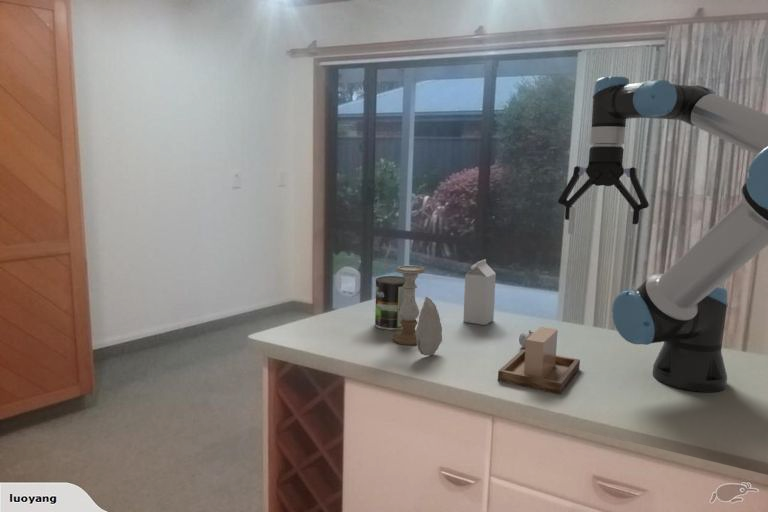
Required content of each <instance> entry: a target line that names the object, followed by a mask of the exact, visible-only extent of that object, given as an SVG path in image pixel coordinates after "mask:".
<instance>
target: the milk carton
mask: <svg viewBox="0 0 768 512" xmlns="http://www.w3.org/2000/svg"><path fill="white" fill-rule="evenodd" d="M469 268H470V270H469V271H468V272H467V273H465V275H464V276H465V277H464V296H463V297H464V303H463V322H464V323H470V324H474V325H475V324H476V325H481V326H486V325H488V324H490V323H491V322H493V321H494V315H495V295H496V293H495V292H496V277H497V275H496V271H494V270H493V269H492V267H490V266H489V265H488V264H487V259H485V258H484V259H482V260H480V261H476V263H474V264H472V265H471V266H470V267H469Z"/></svg>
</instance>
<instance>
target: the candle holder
mask: <svg viewBox="0 0 768 512" xmlns="http://www.w3.org/2000/svg"><path fill="white" fill-rule="evenodd" d="M395 271H396V272H397V273H398V274H399V273H400V274H402V276H401V277H403V278H404V279H405V284H404V285H403V288H405V296H404V301H403V303H402V305H401V308H400V311H399V313H400V316H401V318H402V320H401V321H400V323H401V324H402V327H403V329H402V330H397V331H396V333H395V334H393V335H392V341H393V342H394V343H397V344H399V345H405V346H411V345H413V346H414V345H416V346H417V338H416V328H417V326H418V323H419V321H418V320H417V318H419V316H420V309H419V307H418V305H417V304H418V303H417V301H416V289H417V288H418V286H417V284H416V280H417V278H419V275H420V274H423V273H425V268H424V267H423V266H419V265H399V266H397V267H396V270H395Z"/></svg>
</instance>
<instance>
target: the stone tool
mask: <svg viewBox="0 0 768 512" xmlns="http://www.w3.org/2000/svg"><path fill="white" fill-rule="evenodd" d="M415 330H416V338H417V344H416V346H417V349H418V352H419V353H420V355H423V356H434V355H435V354H436V351H438V349H439V347H440V345H441V343H442V342H443V328H442V323H441V318H440V314H439V311H438V309H437V305H436V304H435V302H434V301H433V300H432V299H431V298H429V297H428V296H425V297H424V302H423V304H422V308H421V309H420V311H419V316H418V324H417V325H416V328H415Z"/></svg>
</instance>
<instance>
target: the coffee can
mask: <svg viewBox="0 0 768 512" xmlns="http://www.w3.org/2000/svg"><path fill="white" fill-rule="evenodd" d="M404 284H405V279H404V278H403V276H398V275H387V276H386V275H384V276H380V277H379V276H378V277H376V278H375V311H374V312H375V313H374V315H375V317H374V326H375V327H376V328H378V329H380V330H386V331H399V330H403V327H402V324H401V323H400V321H401V320H402V318H401V316H400V313H399V311H400V308H401V305H402V303H403V301H404V296H405V288H403V285H404Z"/></svg>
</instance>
